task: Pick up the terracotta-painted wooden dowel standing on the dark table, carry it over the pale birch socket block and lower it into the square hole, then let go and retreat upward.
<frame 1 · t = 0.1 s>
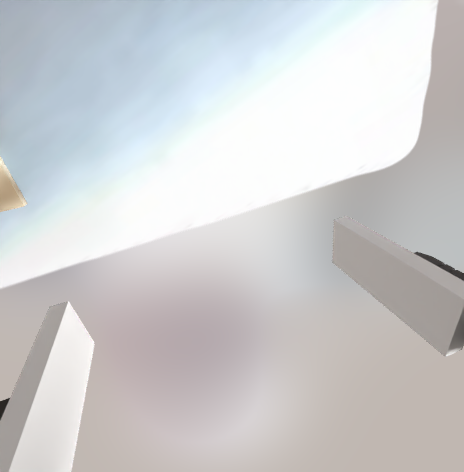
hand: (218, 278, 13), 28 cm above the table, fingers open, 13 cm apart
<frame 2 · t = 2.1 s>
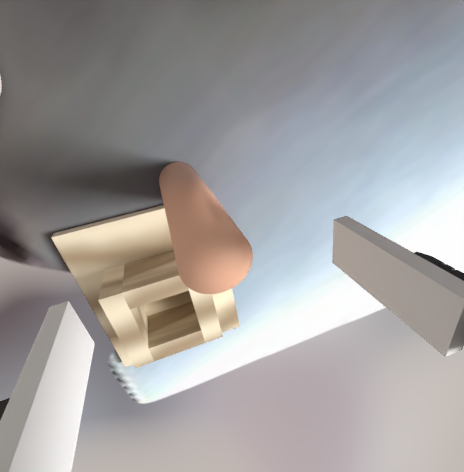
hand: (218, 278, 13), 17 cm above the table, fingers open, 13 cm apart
socket block: (163, 285, 33), on the table
dowel: (179, 181, 28), on the table
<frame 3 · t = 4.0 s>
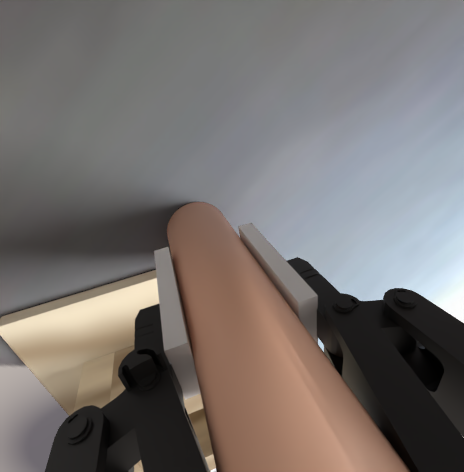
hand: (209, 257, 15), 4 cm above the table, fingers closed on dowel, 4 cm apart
socket block: (171, 368, 23), on the table
dowel: (197, 230, 18), on the table, touching gripper
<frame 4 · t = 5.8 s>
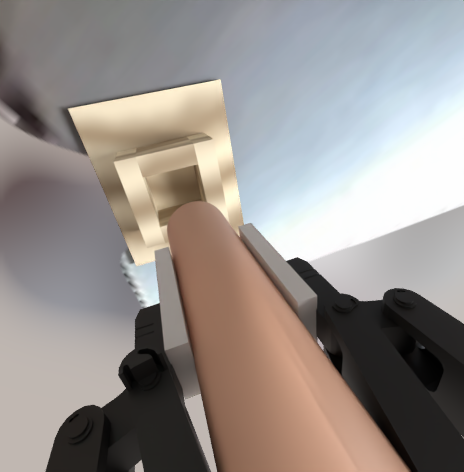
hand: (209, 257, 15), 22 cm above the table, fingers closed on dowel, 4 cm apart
socket block: (173, 181, 34), on the table
dowel: (197, 229, 18), point 18 cm above the table, touching gripper
when the fingers open (8 cm above the table, at t = 8.0 s): dowel drops 2 cm, resting on socket block.
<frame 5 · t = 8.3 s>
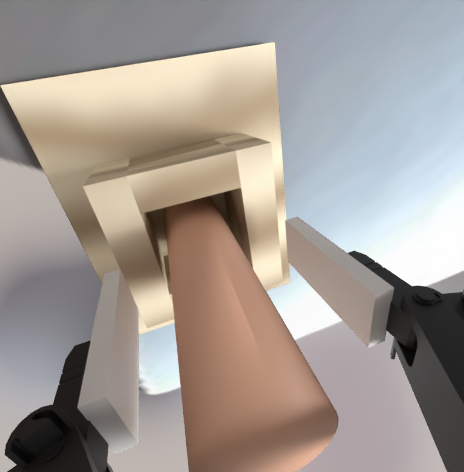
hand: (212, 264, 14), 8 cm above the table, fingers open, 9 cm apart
socket block: (188, 209, 21), on the table
dowel: (191, 214, 21), point 1 cm above the table, touching socket block
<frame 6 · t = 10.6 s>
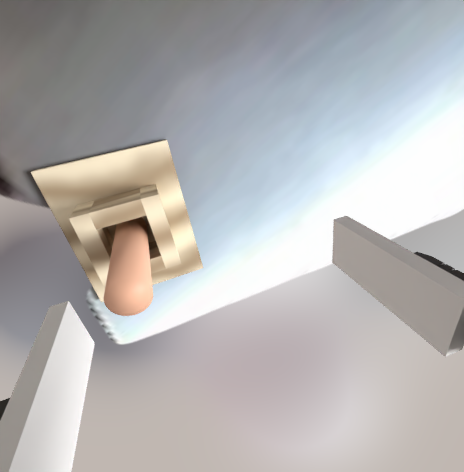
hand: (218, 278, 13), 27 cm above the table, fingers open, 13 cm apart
socket block: (131, 225, 38), on the table
dowel: (131, 227, 37), point 1 cm above the table, touching socket block
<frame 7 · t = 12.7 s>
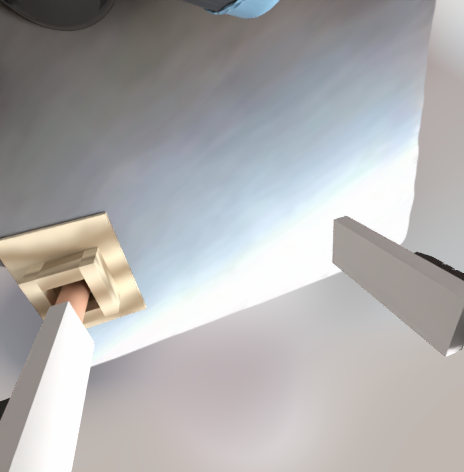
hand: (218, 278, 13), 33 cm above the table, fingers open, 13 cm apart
socket block: (80, 277, 45), on the table
dowel: (79, 280, 45), point 1 cm above the table, touching socket block
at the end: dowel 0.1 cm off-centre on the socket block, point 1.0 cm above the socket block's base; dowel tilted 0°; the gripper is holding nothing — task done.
